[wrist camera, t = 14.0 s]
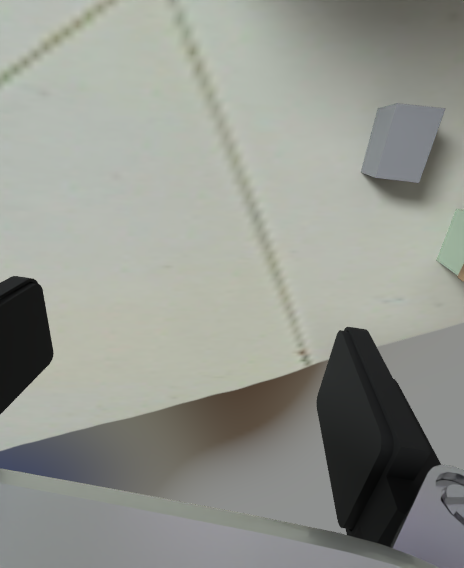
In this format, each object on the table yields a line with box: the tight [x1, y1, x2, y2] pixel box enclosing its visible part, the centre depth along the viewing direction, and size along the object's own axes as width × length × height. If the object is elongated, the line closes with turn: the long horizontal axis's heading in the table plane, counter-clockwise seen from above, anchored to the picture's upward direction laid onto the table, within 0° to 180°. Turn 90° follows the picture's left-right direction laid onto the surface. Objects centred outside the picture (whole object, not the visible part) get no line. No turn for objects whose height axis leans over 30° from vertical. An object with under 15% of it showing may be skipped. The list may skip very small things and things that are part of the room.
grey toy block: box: [361, 103, 445, 183], centre depth 29 cm, size 6×4×5 cm, turn 174°
